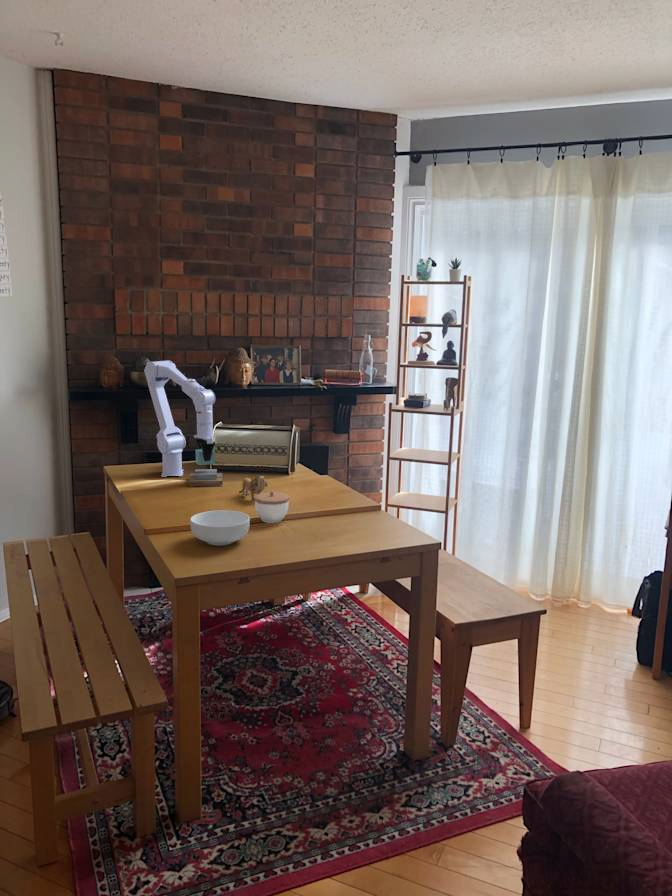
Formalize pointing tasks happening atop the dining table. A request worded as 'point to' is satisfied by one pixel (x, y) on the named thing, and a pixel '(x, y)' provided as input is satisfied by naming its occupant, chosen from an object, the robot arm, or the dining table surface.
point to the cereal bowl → (220, 526)
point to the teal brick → (201, 459)
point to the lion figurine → (253, 486)
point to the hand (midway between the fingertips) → (205, 459)
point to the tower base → (206, 482)
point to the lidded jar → (271, 506)
